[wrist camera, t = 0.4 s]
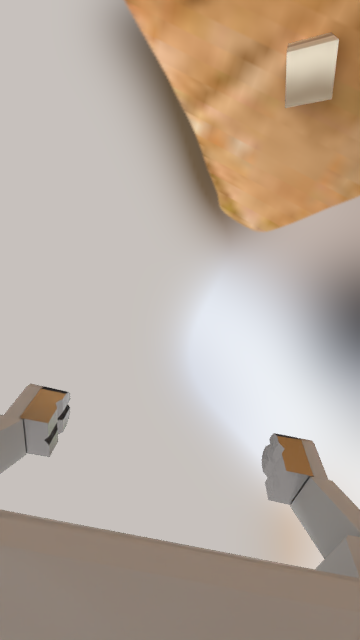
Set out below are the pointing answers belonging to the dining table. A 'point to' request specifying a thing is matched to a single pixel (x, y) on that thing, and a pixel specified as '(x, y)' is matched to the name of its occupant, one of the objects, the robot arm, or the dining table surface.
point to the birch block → (310, 70)
